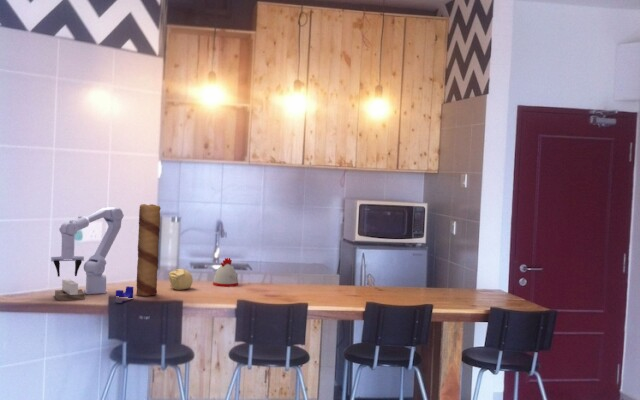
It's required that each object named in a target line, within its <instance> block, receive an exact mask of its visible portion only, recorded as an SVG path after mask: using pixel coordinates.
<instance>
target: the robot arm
mask: <svg viewBox="0 0 640 400" xmlns="http://www.w3.org/2000/svg"><path fill="white" fill-rule="evenodd" d="M123 218H124V213H123V210H122V209H121V208H120V207H112V206H104V207H102V208H100V209H99V210H97V211H95V212H93V213H91V214H89V215H87V216H84V215H79V216H77V218H75V219H70V220H69V222H63V223H62V224H61V225H60V228H59V232H60V234H61V235H60V236H61V253H60V254H61V256H51V257H50V261H51V262H53V265H54V266H55V269H56V274H57V277H58V278H59V277H61V276H60V275H61V273H60V272H61V271H60V266H61V264H60V262H74V263H75V264H74V276H75V277H77V276H78V273H79V269H80V266H81V265H82V262H84V261H85V257H84V256H82V255H81V256H80V255H79V256H78V255H76V256H75V242H76V241H75V239H76V238H75V236H76V234H77V233H78V232H79V231H81V230H83V229H86V228H88V227H89V225H90V224H91V223H93V222H96V221H98V220H100V219H103V220H104V221H105V222H106V224H107V226H108V228H107V229H106V232H105V233H104V235H103V237H102V239H101V240H100V243H99V245H98V247H97V249H96V251H95V253H94V254H93V255H91V256H89V258H88V259H87V260H86V261H85V263H84V264H83V271H84V272H85V275H86V276H85V277H86V278H85V290H84V291H83V292H84V294H85V295H93V294H94V295H95V294H98V295H99V294H106V293H107V275H106V274H103V273H105V269H106V264H107V260H106V258H107V256H108V253H109V251H110V250H111V247H112V246H113V243H114V241H115V240H116V237H117V236H118V234H119V232H120V230H121V227H122V220H123Z"/></svg>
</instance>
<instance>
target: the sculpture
mask: <svg viewBox="0 0 640 400" xmlns="http://www.w3.org/2000/svg"><path fill="white" fill-rule="evenodd" d="M193 278H194V277H193V276H192V274H191V272H190V271H188V270H186V269H183V268H178V269H174V270H172V271H170V272H169V274H168V279H169V282H170V287H172V288H173V289H174V290H177V291H182V290H187V289H190V288H191V287H192V285H193V283H194V281H193V280H194V279H193Z"/></svg>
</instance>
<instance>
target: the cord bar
mask: <svg viewBox="0 0 640 400" xmlns="http://www.w3.org/2000/svg"><path fill="white" fill-rule="evenodd" d="M61 281H62V284H61V290H63V291H64V292H66V293H68V294H69V295H77V294H78V289H79V283H77V282H76V281H74V280H72V279H70V278H69V279H67V278H66V279H62V280H61Z"/></svg>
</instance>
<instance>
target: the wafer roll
mask: <svg viewBox="0 0 640 400" xmlns="http://www.w3.org/2000/svg"><path fill="white" fill-rule="evenodd" d="M161 208H162V207H161V206H160V205H156V204H153V203H152V204H151V203H150V204H145V203H144V204H143V203H141V204H140V205H139V209H138V210H139V211H138V235H137V237H138V239H137V240H138V241H137V243H138V244H137V266H136V296H143V297H146V296H147V297H149V296H154V295H157V293H158V290H157V289H158V288H157V287H158V283H157V282H158V269H159V243H160V231H161V230H160V228H161Z"/></svg>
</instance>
